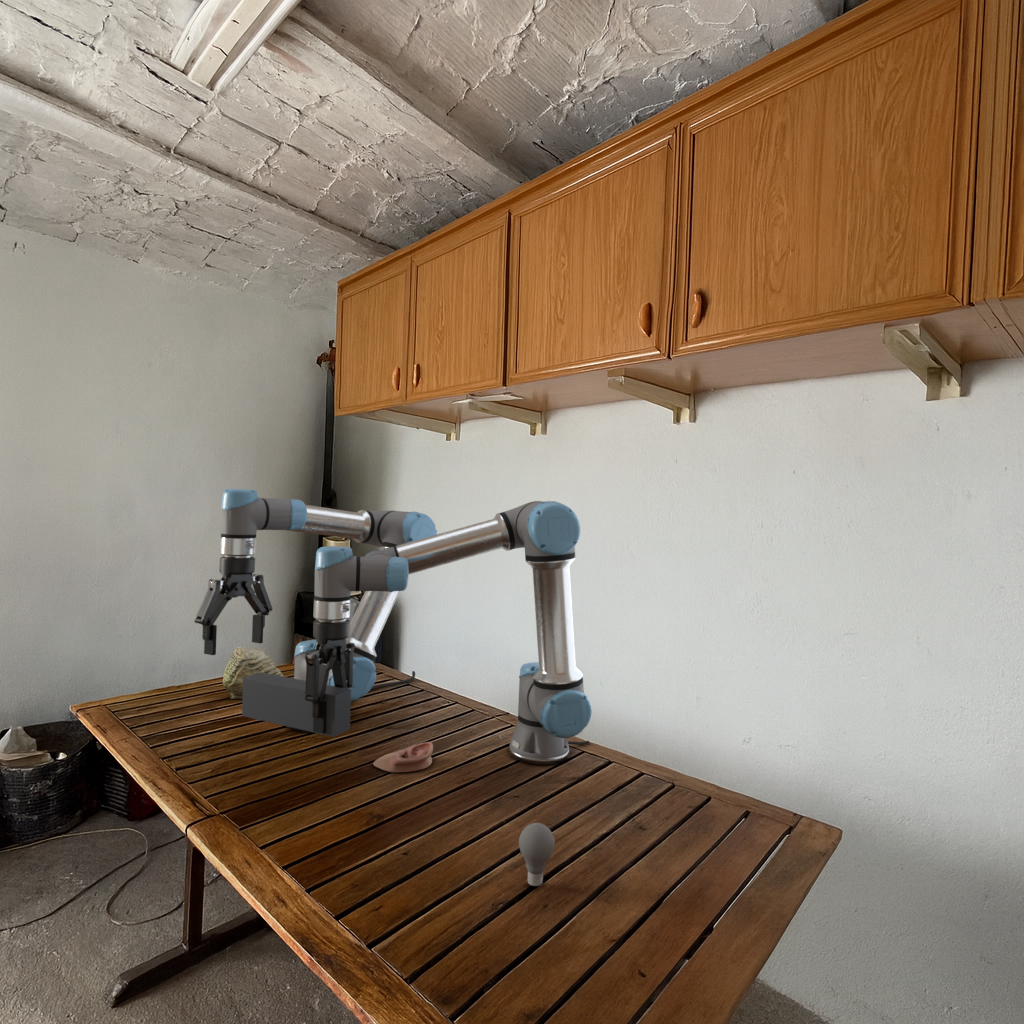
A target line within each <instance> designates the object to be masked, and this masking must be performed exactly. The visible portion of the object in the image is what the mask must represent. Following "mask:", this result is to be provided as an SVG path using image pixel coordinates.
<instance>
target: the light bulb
mask: <svg viewBox="0 0 1024 1024" xmlns="http://www.w3.org/2000/svg"><path fill="white" fill-rule="evenodd" d="M555 845H556V841H555V836H554V835H553V832H552V831H551V829H550V828H549V827H548V826H546V824H544V823H541V822H533V823H530V824H528V825H526V826H525V827H524V828H523V830H522V831H521V833H520V835H519V837H518V846H519V847H518V848H519V851H520V853H521V855H522V857H523V859H524V861H525V867H526V870H527V880H526V881H527V883H528V884H529V885H530V886H531V887H532V886H533V887H540V886H542V885H543V883H544V882H543V881H544V872H545V870H546V866H547V863H548V861H549V860H550V858H551V856H552V855H553V853H554V850H555Z"/></svg>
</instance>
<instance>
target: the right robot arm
mask: <svg viewBox="0 0 1024 1024" xmlns="http://www.w3.org/2000/svg"><path fill="white" fill-rule="evenodd" d="M580 537H581V524H580V520H579V518H578V515H577V514H576V513H575V511H573V510H572V509H571V507H569V506H568V505H566V504H563V503H562V502H558V501H555V500H553V501H552V500H547V501H545V500H544V501H543V500H534V501H529V502H527V503H526V502H525V503H524V504H522V505H519V506H517V507H514V508H511V509H509V510H508V509H507V510H505V511H501V512H498V513H496V514H495V516H494V517H493V518H492V519H488V520H485V521H481V522H477V523H474V524H470V525H467V526H463V527H459V528H456V529H452V530H449V531H445V532H441V533H437V535H434V536H430V537H426V538H423V539H419V540H415V541H412V542H408V543H405V544H401V545H397V546H395V547H390V548H387V549H383V550H380V549H374V550H371V551H368V552H367V553H366V554H365V556H358V555H357V556H356V555H354V554H353V549H352V547H350V546H341V545H340V546H339V545H332V546H331V545H327V546H321V547H319V548H318V549H317V550H316V553H315V564H314V594H313V595H314V597H313V616H312V617H313V618H314V619H315V620H314V621H313V624H312V626H313V627H312V637H313V639H314V640H316V641H317V643H316V646H315V651H314V652H312V653H311V654H309V653H307V654H306V655H305V660H306V665H307V666H306V688H305V700H306V701H311V702H312V703H313V711H312V712H313V713H312V716H313V731H314V732H318V733H323V734H324V733H326V705H327V702H326V701H324V697H325V692H326V687H327V682H328V677H329V671H330V669H332V673H333V680H334V686H335V687H340V688H346V689H348V688H351V687H352V686H353V652H354V648H355V644H354V643H349V642H347V641H346V638H348V637H349V635H350V623H351V621H350V620H349V618H350V617H351V599H352V592H365V591H390V592H393V591H400V592H404V591H406V590H407V588H408V585H409V575H413V574H417V573H421V572H423V571H427V570H430V569H434V568H437V567H440V566H445V565H448V564H451V563H456V562H458V561H462V560H465V559H469V558H473V557H476V556H479V555H483V554H487V553H490V552H494V551H497V550H501V549H502V550H505V551H506V552H508V551H512V550H515V549H524V558H525V563H526V564H528V565H529V566H530V567H531V568H532V584H533V596H534V611H535V625H536V628H535V629H536V641H537V643H536V644H537V655H538V656H537V657H538V658H537V659H538V661H533V662H526V663H523V664H522V665H521V666H520V668H519V675H518V678H519V680H518V681H519V684H518V705H517V707H518V708H517V722H516V725H515V728H514V731H513V734H512V736H511V739H510V742H509V750H508V751H509V754H510V756H511V757H512V758H513V759H516V760H518V761H520V762H523V763H526V764H531V765H536V766H537V765H540V766H544V765H545V766H547V765H555V764H560V763H562V762H564V761H566V760H567V759H569V756H570V746H569V745H578V746H579V745H580V746H582V745H588V744H590V741H589V740H586V741H574V740H573V741H571V740H570V741H569V740H568V739H569V738H573V737H576V736H578V735H580V734H581V733H582V732H584V729H586V727H587V726H588V725H589V723H590V721H591V718H592V714H593V713H592V711H593V710H592V709H593V708H592V704H591V701H590V699H589V697H588V696H587V695H586V694H585V688H584V686H585V685H584V674H583V672H582V670H580V669H579V668H578V667H577V663H576V650H575V649H576V648H575V633H574V617H573V616H574V615H573V601H572V587H571V571H570V569H571V568H570V566H571V564H572V563H574V561H575V560H576V545H577V543H579V540H580ZM323 664H327V665H323ZM346 680H348V682H347V681H346ZM318 695H319V696H318ZM314 732H313V733H314ZM318 733H317V734H318ZM323 734H322V735H323Z"/></svg>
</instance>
